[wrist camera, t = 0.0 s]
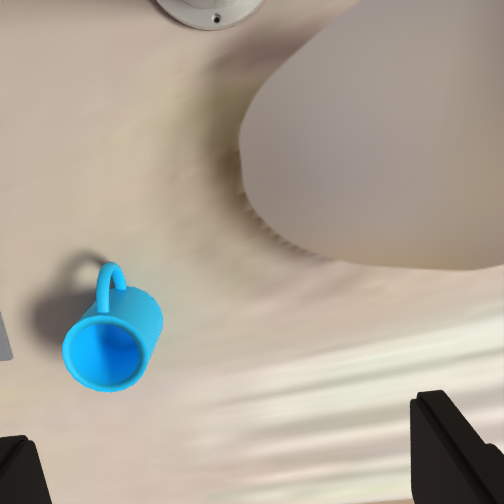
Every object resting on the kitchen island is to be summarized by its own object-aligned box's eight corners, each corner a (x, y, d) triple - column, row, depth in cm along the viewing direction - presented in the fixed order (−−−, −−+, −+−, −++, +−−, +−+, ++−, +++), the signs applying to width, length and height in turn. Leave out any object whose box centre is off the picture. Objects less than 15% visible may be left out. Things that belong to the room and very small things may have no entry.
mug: (166, 350, 50) (152, 390, 42) (96, 353, 50) (68, 394, 42) (156, 250, 47) (138, 274, 39) (81, 254, 47) (48, 278, 39)
